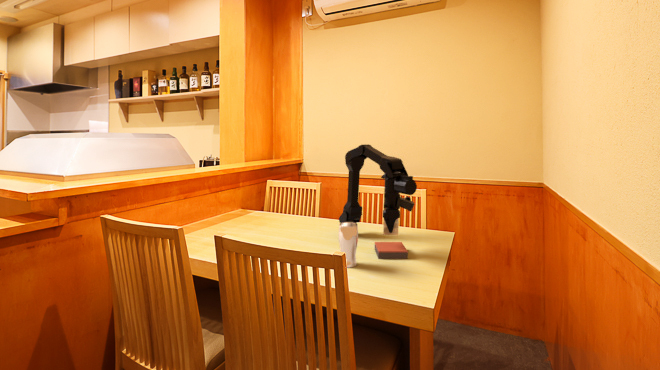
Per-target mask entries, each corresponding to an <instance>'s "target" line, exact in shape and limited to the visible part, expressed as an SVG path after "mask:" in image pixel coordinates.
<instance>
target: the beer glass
mask: <svg viewBox="0 0 660 370" xmlns="http://www.w3.org/2000/svg"><path fill="white" fill-rule="evenodd" d="M358 225H359V224H358V222H357V223H354V222H343V223H340V222H339V224H338V243H339V248H340V249H339V250H340V253H341V252H345V253H346V259H347V267H348V268H355V267H356V266H357V263H358V262H357V260H356V259H357V258H356V257H357V256H356V254H357V247H358V242H359V226H358Z"/></svg>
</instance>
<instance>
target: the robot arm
mask: <svg viewBox="0 0 660 370" xmlns="http://www.w3.org/2000/svg"><path fill="white" fill-rule="evenodd" d="M344 159H345V160H344V161H345V162H344V163H345V165H346V168H347V170H348V178H347V179H348V182H347V200H346V202H345V204H344V206H343V209H342V213H341V215H340V216H339V217H338V220H339V221H338V222H339V224H340V223H343V222H354V223H357V224H358V223H360V222H361V219H362V216H363V206H362V205H360V203H359V193H360V176H361V175H360V173H361V170H362V168H363V167H364V165H365V160H366V159H369V160H370V161H372V162H374V163H375V164H377V165H378V166H379V169H380V171H382V172H383V173H384V174H383V175H381V177H380V178H381V179H383V180H384V189H383V190H384V191H383V194H384V195H383V210H382V218H383V221H384V220H385V223H386V225H387V228H388V230H389V233H392V232H393V228H394V224H395V220H397V219H398V220H399V219H401V211H400V209H401V208H402V209H405V210H406V211H408V212H412V211H413V209H414V207H415V202H414V201H412V200H411V199H412V198H411V197H410V196H412V195H414V194H415V193H416V191H417V188H418V185H417V182H416V181H415V179H414V176H413V175H409V174H408V171H407V170H406V167H405V165H404V162H403V160H402V159H401V158H399V157H395V156H390V155H387V154H385V153H383V152H382V151H380V150H378V149H376V148H375V147H373V146H372V145H371V144H366V143H365V144H360V145H358V146H357V147H355V148H352V149H350V150H348V151H347V152H346V153H345V156H344ZM401 194H403V195H406V197H402V196H401ZM407 195H408V196H407Z"/></svg>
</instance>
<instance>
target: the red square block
mask: <svg viewBox="0 0 660 370" xmlns="http://www.w3.org/2000/svg"><path fill="white" fill-rule="evenodd" d="M374 252H375V253H376V256H377V259H378V260H408V257H409V256H408V252H409V251H408V249H407V248H406V246H405V245H404V243H403V242H402V241H375V242H374Z"/></svg>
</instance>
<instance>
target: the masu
mask: <svg viewBox="0 0 660 370" xmlns="http://www.w3.org/2000/svg"><path fill="white" fill-rule="evenodd" d="M382 233H383V235H384V236H385V235H386V236H399V218H398V219H397V220H395V224H394V228H393V232H392V233H389V230H388V228H387V225H386V223H385V220H384V219H383V232H382Z"/></svg>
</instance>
